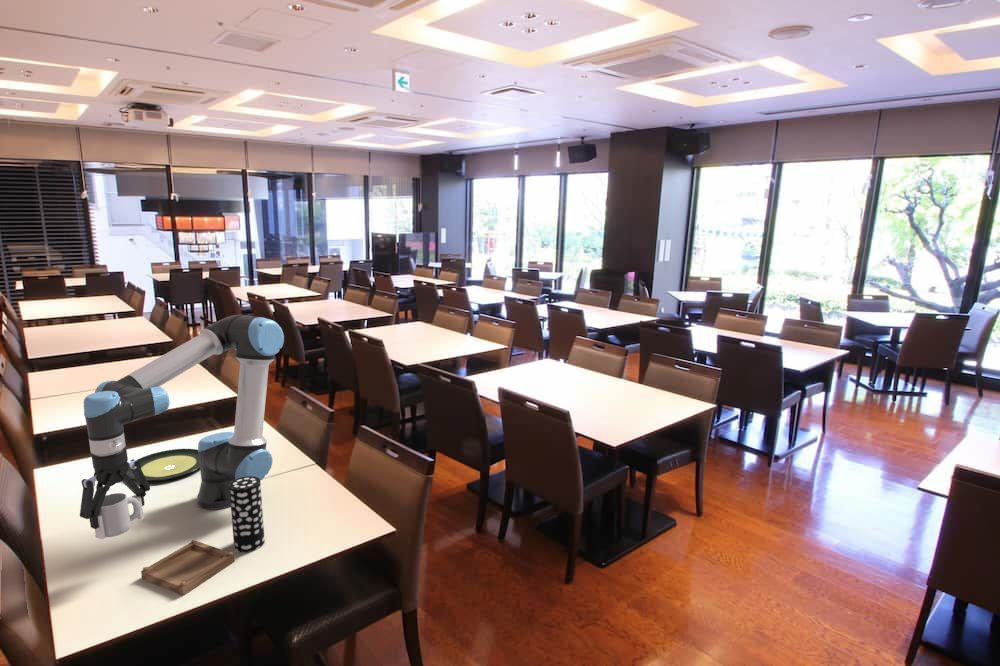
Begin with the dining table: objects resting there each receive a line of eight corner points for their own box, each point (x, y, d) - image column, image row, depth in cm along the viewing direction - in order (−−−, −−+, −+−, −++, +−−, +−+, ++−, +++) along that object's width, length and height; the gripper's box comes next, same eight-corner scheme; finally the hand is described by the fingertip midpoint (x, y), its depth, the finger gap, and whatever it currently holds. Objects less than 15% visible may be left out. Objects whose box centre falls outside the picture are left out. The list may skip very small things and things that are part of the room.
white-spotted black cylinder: (245, 555, 160) (240, 492, 156) (228, 546, 164) (222, 484, 160) (270, 542, 167) (266, 480, 163) (253, 533, 171) (248, 473, 167)
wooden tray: (142, 578, 149) (140, 569, 148) (195, 547, 163) (194, 538, 163) (183, 595, 143) (182, 585, 142) (234, 561, 157) (233, 552, 156)
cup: (96, 530, 148) (90, 499, 146) (139, 515, 155) (134, 486, 153) (101, 541, 143) (96, 510, 141) (146, 526, 150) (141, 496, 148)
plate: (187, 448, 232) (187, 442, 232) (224, 466, 217) (223, 460, 216) (112, 471, 210) (111, 465, 209) (146, 493, 194) (145, 487, 194)
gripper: (71, 471, 133) (85, 553, 138) (159, 437, 153) (168, 510, 158) (52, 465, 136) (66, 546, 141) (141, 432, 156) (150, 504, 161)
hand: (120, 527), depth 149 cm, fingers closed on cup, 10 cm apart
